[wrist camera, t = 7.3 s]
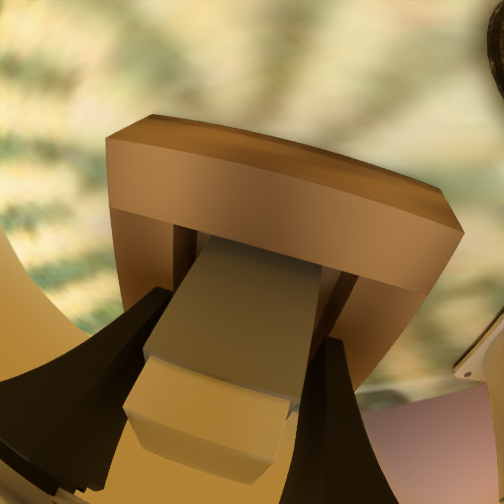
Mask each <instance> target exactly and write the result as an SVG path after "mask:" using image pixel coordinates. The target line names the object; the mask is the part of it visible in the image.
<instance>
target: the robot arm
mask: <svg viewBox="0 0 504 504" xmlns="http://www.w3.org/2000/svg"><path fill="white" fill-rule="evenodd" d="M172 298H173V291H171V290H168V289H164V288H161V287H159V286H156V287H154V288H153V289H152V290H151V291H149V292H148V293H147V294H146V295H145V296H144V297H142V298H141V299H140V300H139V301H138V302H136V303H135V304H134V305H133V306H132V307H130V308H129V309H128V310H127V311H125V312H124V313H123V314H122V315H120V316H119V317H118V318H116V319H115V320H114V321H113V322H111V323H110V324H109V325H107V326H106V327H105V328H103V329H102V330H100V331H99V332H98V333H96V334H95V335H93V336H92V337H91V338H89V339H88V340H86V341H85V342H83V343H82V344H80V345H78V346H77V347H75V348H74V349H72V350H70V351H68V352H67V353H65V354H63V355H61V356H60V357H58V358H56V359H54V360H52V361H50V362H48V363H46V364H44V365H42V366H40V367H38V368H36V369H33V370H31V371H28V372H26V373H24V374H21V375H19V376H16V377H13V378H11V379H7V380H4V381H1V382H0V504H89V503H87V502H85V501H84V500H82V499H80V498H79V497H77V496H75V495H74V493H75V491H76V489H77V490H79V491H81V492H83V493H84V492H85V491H86V489H87V487H88V488H90V489H91V490H93V491H100V490H103V489H104V486H105V483H106V479H107V475H108V472H109V469H110V466H111V463H112V459H113V456H114V454H115V450H116V448H117V445H118V442H119V440H120V437H121V434H122V431H123V429H124V427H125V424H126V422H127V419H128V417H127V415H126V413H125V411H124V409H123V405H124V403H125V401H126V399H127V397H128V395H129V394H130V392H131V390H132V388H133V386H134V384H135V382H136V381H137V379H138V377H139V375H140V373H141V372H142V370H143V368H144V366H145V364H146V363H145V358H144V353H143V347H144V345H145V343H146V341H147V340H148V338H149V336H150V335H151V333H152V331H153V330H154V328H155V326H156V325H157V323H158V321H159V320H160V318H161V316H162V315H163V313H164V311H165V310H166V308H167V306H168V305H169V303H170V301H171V300H172ZM453 372H454V376H455V377H457V378H462V379H468V380H475V381H482V382H486V383H487V388H488V394H489V399H490V405H491V411H492V418H493V425H494V433H495V442H496V452H497V463H498V484H499V502H501V503H500V504H504V312H503V314H502V315H501V316H500V317H499V319H498V320H497V321H496V322H495V324H494V325H493V326H492V327H491V328H490V330H489V331H488V332H487V333H486V334H485V335H484V337H483V338H482V339H481V340H480V341H479V342H478V343H477V345H476V346H475V347H474V348H473V349H472V350H471V351H470V352H469V353H468V354H467V356H466V357H465V358H464V359H463V360H462V361H461V362H460V363H459V364H458V365H457V366H456V367H455V368H454V370H453ZM279 504H399V503H398V501H397V499H396V497H395V496H394V494H393V492H392V490H391V488H390V486H389V484H388V482H387V480H386V478H385V476H384V474H383V472H382V470H381V468H380V466H379V464H378V461H377V459H376V456H375V454H374V452H373V449H372V447H371V444H370V441H369V439H368V436H367V433H366V430H365V428H364V424H363V421H362V418H361V415H360V411H359V408H358V404H357V401H356V397H355V393H354V389H353V386H352V381H351V377H350V373H349V368H348V364H347V359H346V353H345V348H344V342H343V341H342V340H340V339H336V338H332V337H328V336H324V338H323V340H322V342H321V344H320V346H319V348H318V349H317V351H316V353H315V355H314V357H313V358H312V360H311V362H310V364H309V366H308V367H307V372H306V376H305V380H304V384H303V389H302V394H301V401H300V409H299V416H298V424H297V431H296V439H295V446H294V451H293V457H292V461H291V464H290V468H289V472H288V475H287V479H286V482H285V486H284V489H283V492H282V495H281V499H280V502H279Z"/></svg>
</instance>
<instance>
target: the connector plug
mask: <svg viewBox="0 0 504 504" xmlns="http://www.w3.org/2000/svg"><path fill="white" fill-rule="evenodd" d="M321 271H322V265H320V264H316V263H312V262H309V261H305V260H302V259H298V258H295V257H291V256H287V255H284V254H280V253H277V252H273V251H270V250H266V249H262V248H259V247H255V246H252V245H248V244H244V243H241V242H237V241H234V240H230V239H226V238H223V237H219V236H215V235H211V237H210V239H209V240H208V242H207V243H206V245H205V246H204V248H203V250H202V251H201V253H200V254H199V256H198V258H197V259H196V261H195V262H194V264H193V266H192V267H191V269H190V270H189V272H188V274H187V275H186V277H185V278H184V280H183V282H182V283H181V285H180V287H179V288H178V290H177V291H176V293H175V295H174V296H173V298H172V300H171V301H170V303H169V305H168V306H167V308H166V310H165V311H164V313H163V315H162V316H161V318H160V320H159V321H158V323H157V325H156V326H155V328H154V330H153V331H152V333H151V335H150V336H149V338H148V340H147V341H146V343H145V345H144V347H143V353H144V358H145V363H146V364H145V366H144V368H143V370H142V372H141V373H140V375H139V377H138V379H137V381H136V382H135V384H134V386H133V388H132V390H131V392H130V394H129V395H128V397H127V399H126V401H125V403H124V405H123V409H124V411H125V413H126V415H127V417H128V419H129V422H130V423H131V426H132V428H133V430H134V432H135V434H136V436H137V438H138V440H139V442H140V443H141V446H142V447H143V449H145V450H147V451H150V452H152V453H154V454H157V455H159V456H162V457H164V458H167V459H170V460H172V461H175V462H178V463H180V464H183V465H186V466H189V467H191V468H194V469H197V470H200V471H203V472H206V473H210V474H213V475H216V476H219V477H223V478H226V479H230V480H233V481H237V482H241V483H244V484H248V485H252V484H253V483H254V482H255V481H256V480H257V479H258V478H259V477H260V476H261V475H262V474H263V473H264V472H265V471H266V470H267V469H268V468H269V467H270V466H271V465H272V464H273V462H274V461H275V460H276V459H277V455H278V451H279V447H280V443H281V439H282V435H283V430H284V426H285V422H286V420H287V418H288V417H289V416H290V414H291V413H292V411H293V410H294V408H295V407H296V405H297V404H298V402H299V400H300V399H301V394H302V389H303V384H304V379H305V373H306V368H307V362H308V357H309V351H310V345H311V339H312V333H313V327H314V320H315V314H316V307H317V300H318V293H319V286H320V279H321Z"/></svg>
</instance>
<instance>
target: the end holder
mask: <svg viewBox="0 0 504 504" xmlns="http://www.w3.org/2000/svg"><path fill="white" fill-rule="evenodd" d="M105 141H106V166H107V183H108V196H109V208H110V218H111V227H112V236H113V244H114V252H115V259H116V266H117V273H118V279H119V285H120V291H121V297H122V302H123V308H124V312H125V311H127V310H128V309H129V308H130V307H132V306H133V305H134V304H135V303H136V302H138V301H139V300H140V299H141V298H142V297H144V296H145V295H146V294H147V293H148V292H149V291H151V290H152V289H153V288H154V287H156V286H159V287H161V288H164V289H168V290H171V291H173V296H174V295H175V293H176V291H177V290H178V288H179V287H180V285H181V283H182V282H183V280H184V278H185V277H186V275H187V274H188V272H189V270H190V269H191V267H192V266H193V264H194V262H195V261H196V259H197V258H198V256H199V254H200V253H201V251H202V250H203V248H204V246H205V245H206V243H207V242H208V240H209V239H210V237H211V235H215V236H219V237H223V238H226V239H230V240H234V241H237V242H241V243H244V244H248V245H252V246H255V247H259V248H262V249H266V250H270V251H273V252H277V253H280V254H284V255H287V256H291V257H295V258H298V259H302V260H305V261H309V262H312V263H316V264H320V265H322V271H321V279H320V286H319V293H318V300H317V307H316V314H315V320H314V327H313V333H312V339H311V345H310V351H309V357H308V362H307V367H308V366H309V364H310V362H311V360H312V358H313V357H314V355H315V353H316V351H317V349H318V348H319V346H320V344H321V342H322V340H323V338H324V336H328V337H332V338H336V339H340V340H342V341H343V342H344V348H345V353H346V359H347V364H348V368H349V373H350V377H351V381H352V386H353V389H354V392H355V391H356V390H357V389H358V387H359V386H360V385H361V384H362V383H363V381H364V380H365V379H366V378H367V377H368V375H369V374H370V373H371V372H372V371H373V369H374V368H375V367H376V366H377V364H378V363H379V362H380V361H381V359H382V358H383V357H384V356H385V354H386V353H387V352H388V350H389V349H390V348H391V346H392V345H393V344H394V343H395V341H396V340H397V339H398V337H399V336H400V334H401V333H402V332H403V330H404V329H405V328H406V326H407V325H408V323H409V322H410V321H411V319H412V318H413V316H414V315H415V313H416V312H417V310H418V309H419V308H420V306H421V305H422V303H423V302H424V300H425V299H426V297H427V296H428V294H429V292H430V291H431V289H432V288H433V286H434V285H435V283H436V281H437V280H438V278H439V277H440V275H441V273H442V272H443V270H444V268H445V267H446V265H447V263H448V262H449V260H450V258H451V257H452V255H453V253H454V251H455V250H456V248H457V246H458V244H459V243H460V241H461V239H462V237H463V235H464V231H463V229H462V227H461V225H460V223H459V222H458V220H457V218H456V216H455V214H454V213H453V211H452V209H451V207H450V205H449V204H448V202H447V200H446V199H445V197H444V195H443V194H442V192H441V190H440V189H438V188H436V187H433V186H431V185H428V184H425V183H423V182H420V181H417V180H415V179H412V178H409V177H407V176H404V175H401V174H398V173H395V172H393V171H390V170H387V169H384V168H381V167H378V166H375V165H372V164H369V163H366V162H362V161H359V160H356V159H353V158H350V157H346V156H343V155H340V154H336V153H333V152H329V151H326V150H322V149H319V148H315V147H311V146H308V145H304V144H300V143H296V142H292V141H288V140H284V139H280V138H276V137H272V136H268V135H263V134H259V133H255V132H250V131H245V130H241V129H236V128H231V127H226V126H221V125H216V124H210V123H205V122H199V121H193V120H187V119H181V118H174V117H168V116H161V115H154V114H152V115H150V116H148V117H146V118H143V119H141V120H139V121H137V122H135V123H133V124H131V125H129V126H127V127H125V128H123V129H122V130H120V131H118V132H116V133H114V134H112V135H110V136H108V137H107V138H105ZM306 372H307V368H306ZM305 376H306V373H305ZM304 380H305V379H304ZM300 401H301V399H300V400H299V402H300Z"/></svg>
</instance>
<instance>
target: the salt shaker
mask: <svg viewBox="0 0 504 504" xmlns="http://www.w3.org/2000/svg"><path fill="white" fill-rule="evenodd" d="M487 47H488V57H489V62H490V66H491V71H492V74H493V77H494V79H495V81H496V84H497V86H498V89H499V91H500V93H501V94H502V96H503V98H504V0H503V1H502V2H500V3H499V4H498V5H497V6H496V8H495V10H494V12H493V14H492V16H491V18H490V22H489V27H488V33H487Z"/></svg>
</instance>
